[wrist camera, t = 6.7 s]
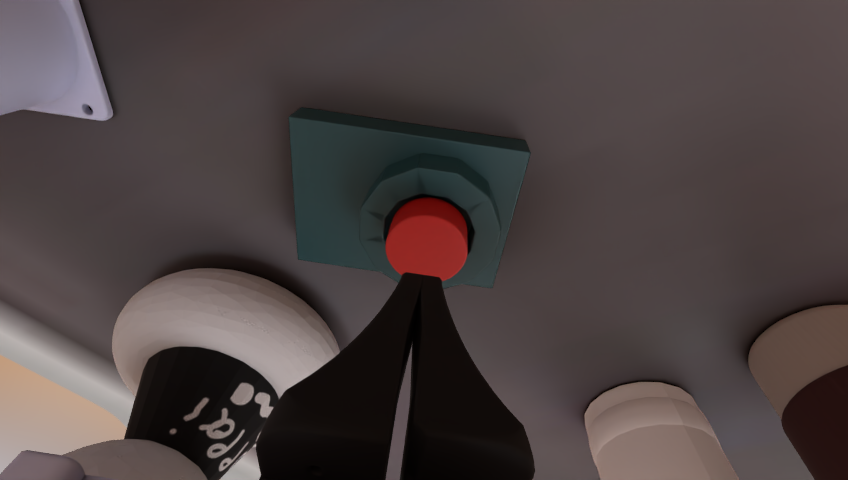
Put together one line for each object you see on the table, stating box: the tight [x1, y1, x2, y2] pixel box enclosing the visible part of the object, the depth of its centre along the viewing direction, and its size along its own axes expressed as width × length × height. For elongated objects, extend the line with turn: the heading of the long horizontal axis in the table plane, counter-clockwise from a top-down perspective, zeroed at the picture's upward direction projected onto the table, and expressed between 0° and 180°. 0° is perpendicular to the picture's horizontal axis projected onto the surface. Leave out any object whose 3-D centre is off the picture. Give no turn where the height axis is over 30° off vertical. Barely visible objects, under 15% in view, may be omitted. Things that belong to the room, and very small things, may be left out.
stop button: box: [385, 197, 468, 281], centre depth 18 cm, size 4×4×2 cm
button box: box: [289, 107, 531, 289], centre depth 20 cm, size 11×8×4 cm
